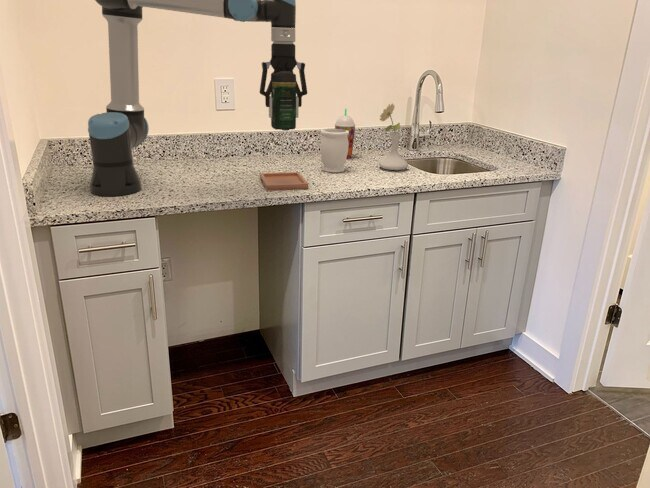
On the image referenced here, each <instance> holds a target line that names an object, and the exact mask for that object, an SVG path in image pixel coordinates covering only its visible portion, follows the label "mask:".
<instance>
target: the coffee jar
mask: <svg viewBox="0 0 650 488" xmlns="http://www.w3.org/2000/svg"><path fill="white" fill-rule="evenodd" d="M273 72H274V71H273ZM273 72H271V73H270V80H271V79H272V91H271V94H270V96H271V97H272V118H270V122H271V123H270V125H271V127H272V129H273V130H277V131H278V130H282V131H286V132H287V131H290V130H292V131H293V130H295V129H296V128H297V126H296V125H297V118H296V96H297V94H296V81H297V75H296V74H295V72H293V73H292V72H290V71H287V70H281V71H279V72H277V73H275V72H274V73H273Z"/></svg>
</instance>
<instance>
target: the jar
mask: <svg viewBox="0 0 650 488" xmlns="http://www.w3.org/2000/svg"><path fill="white" fill-rule="evenodd" d="M320 134H321V137H320V143H319V144H320V145H319V146H320V147H319V148H320V150H319V152H320V156H321V157H320V158H321V162H322V164H323V166H322V171H324V172H327V173H331V174H332V173H333V174H335V173H336V174H337V173H343V172H344V171H345V167H344V166H345V164H346V162H347V160H348V159H347V154H348V137H347V135H348V134H349V131H347V130H343V129H335V128H323V129H320Z"/></svg>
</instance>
